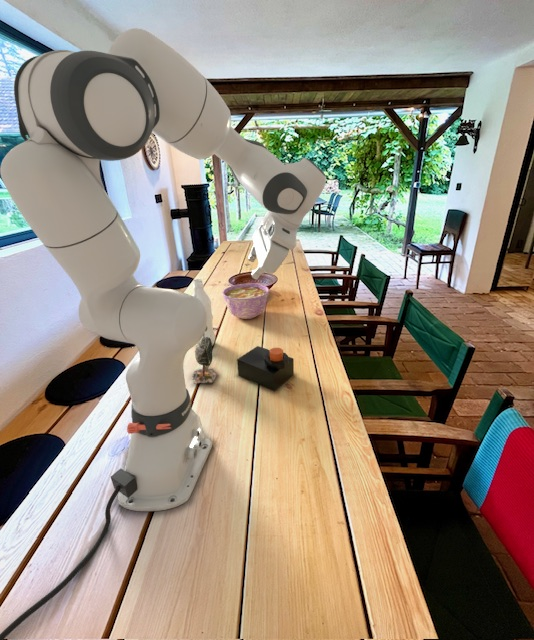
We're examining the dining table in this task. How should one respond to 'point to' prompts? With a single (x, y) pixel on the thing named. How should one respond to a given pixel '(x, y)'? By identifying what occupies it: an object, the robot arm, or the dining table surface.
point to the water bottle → (206, 303)
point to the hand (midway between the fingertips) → (252, 268)
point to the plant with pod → (204, 361)
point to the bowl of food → (246, 300)
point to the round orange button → (276, 354)
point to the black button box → (265, 368)
